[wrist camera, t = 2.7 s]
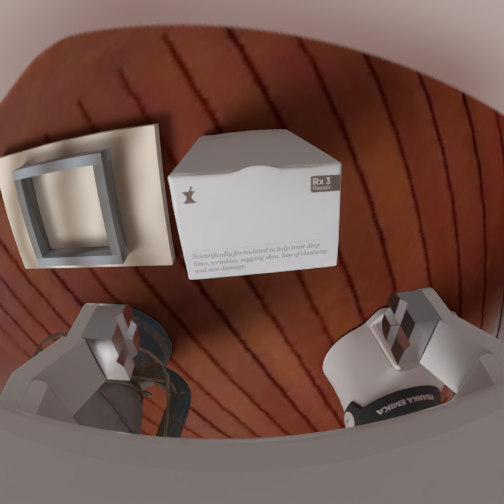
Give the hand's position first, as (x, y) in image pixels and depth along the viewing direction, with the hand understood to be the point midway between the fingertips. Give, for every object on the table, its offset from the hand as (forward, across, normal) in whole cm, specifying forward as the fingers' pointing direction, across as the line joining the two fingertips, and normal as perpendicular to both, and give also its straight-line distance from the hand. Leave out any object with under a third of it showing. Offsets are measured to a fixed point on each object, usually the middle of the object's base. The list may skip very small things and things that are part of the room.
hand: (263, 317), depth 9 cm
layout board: (+21, +18, +3) cm, 28 cm away
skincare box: (+21, 0, 0) cm, 21 cm away
